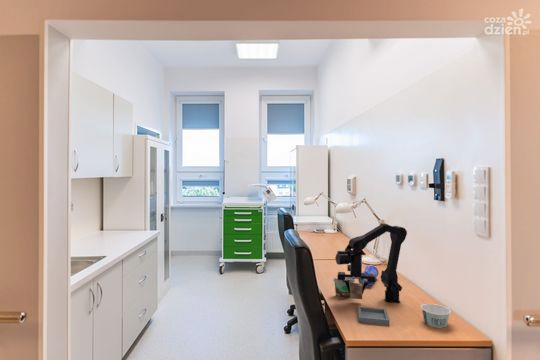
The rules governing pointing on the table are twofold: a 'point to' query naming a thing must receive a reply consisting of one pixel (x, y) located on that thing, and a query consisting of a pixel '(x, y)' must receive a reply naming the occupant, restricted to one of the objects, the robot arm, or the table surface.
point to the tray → (373, 315)
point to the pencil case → (369, 270)
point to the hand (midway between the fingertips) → (355, 293)
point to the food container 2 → (435, 315)
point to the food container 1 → (342, 288)
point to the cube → (356, 290)
